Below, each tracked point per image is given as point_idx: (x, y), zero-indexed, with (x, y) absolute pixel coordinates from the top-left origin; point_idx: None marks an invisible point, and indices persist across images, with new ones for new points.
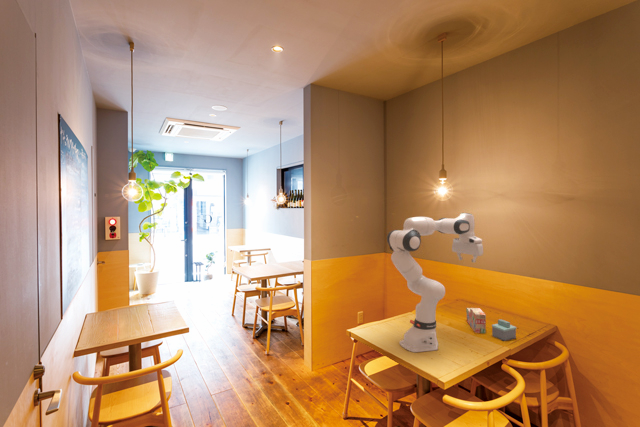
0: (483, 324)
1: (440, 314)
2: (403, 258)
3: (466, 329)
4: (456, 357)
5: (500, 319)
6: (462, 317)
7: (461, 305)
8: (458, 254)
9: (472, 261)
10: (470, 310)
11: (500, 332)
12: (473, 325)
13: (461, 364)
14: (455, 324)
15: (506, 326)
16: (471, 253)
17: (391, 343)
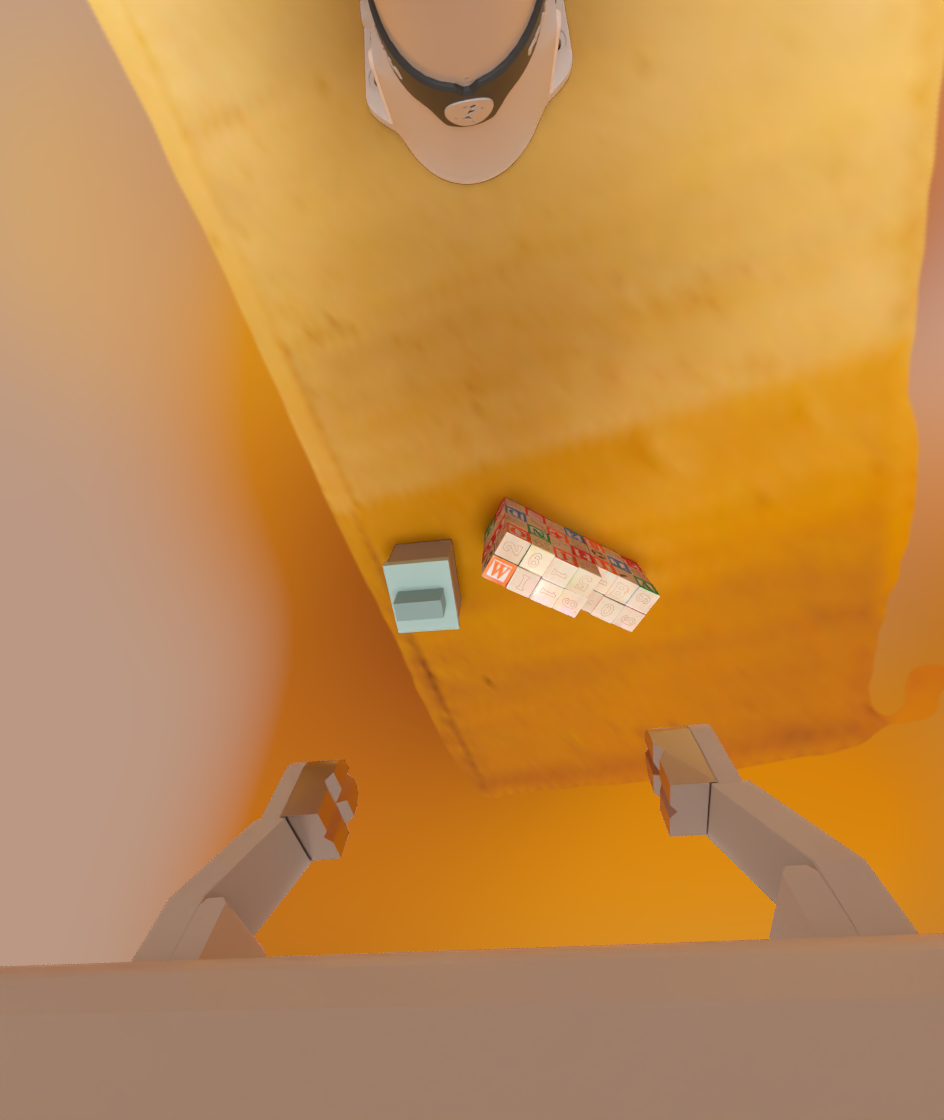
0: (487, 543)
1: (776, 499)
2: None
3: (551, 485)
4: (276, 174)
5: (441, 613)
6: (679, 574)
7: (803, 677)
8: (804, 866)
9: (313, 769)
10: (593, 568)
11: (406, 556)
12: (535, 520)
13: (202, 142)
14: (624, 478)
15: (399, 594)
16: (161, 1017)
17: None
